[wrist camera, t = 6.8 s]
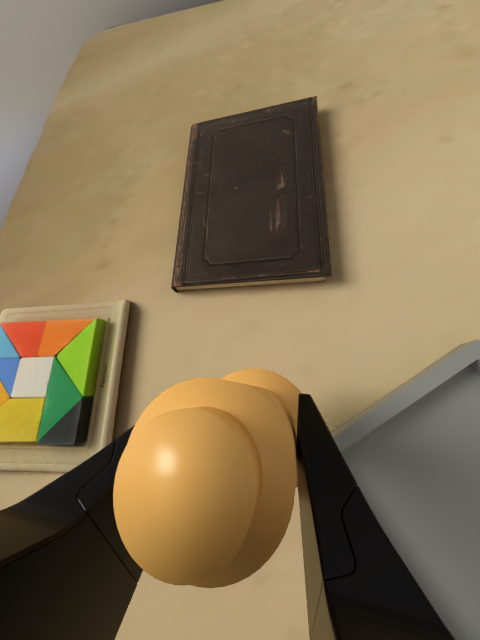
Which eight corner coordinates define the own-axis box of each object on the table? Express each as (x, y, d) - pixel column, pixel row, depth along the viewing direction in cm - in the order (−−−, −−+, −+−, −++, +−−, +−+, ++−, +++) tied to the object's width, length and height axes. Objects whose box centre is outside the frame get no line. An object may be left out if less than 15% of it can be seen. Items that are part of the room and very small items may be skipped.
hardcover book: (315, 116, 30) (316, 95, 28) (328, 285, 24) (331, 274, 22) (195, 141, 34) (188, 124, 32) (178, 294, 27) (168, 286, 25)
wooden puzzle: (118, 472, 23) (88, 484, 20) (-31, 463, 27) (-76, 473, 24) (138, 301, 28) (117, 288, 25) (11, 314, 32) (-21, 305, 29)
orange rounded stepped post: (328, 435, 15) (451, 599, 3) (255, 482, 15) (92, 815, 3) (279, 361, 16) (234, 280, 5) (214, 403, 17) (18, 423, 5)
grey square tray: (684, 555, 14) (744, 580, 12) (465, 697, 14) (490, 743, 12) (460, 344, 19) (477, 339, 18) (305, 450, 20) (305, 456, 18)
